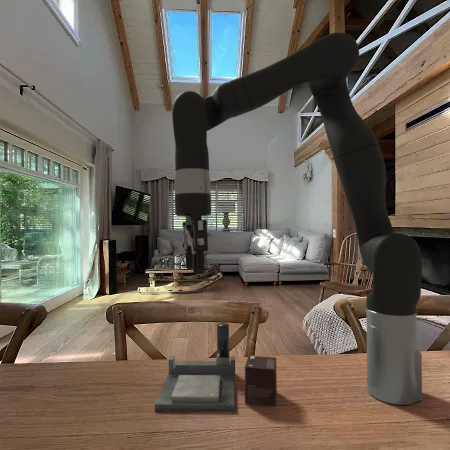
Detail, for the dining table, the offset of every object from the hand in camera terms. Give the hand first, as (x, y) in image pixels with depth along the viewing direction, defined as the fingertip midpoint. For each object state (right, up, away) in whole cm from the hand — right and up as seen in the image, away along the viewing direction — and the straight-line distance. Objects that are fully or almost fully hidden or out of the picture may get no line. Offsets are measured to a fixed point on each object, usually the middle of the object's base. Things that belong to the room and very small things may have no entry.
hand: (194, 271), depth 67 cm
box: (+14, -26, -2) cm, 29 cm away
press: (+1, -26, +2) cm, 26 cm away
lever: (+6, -22, +8) cm, 24 cm away
